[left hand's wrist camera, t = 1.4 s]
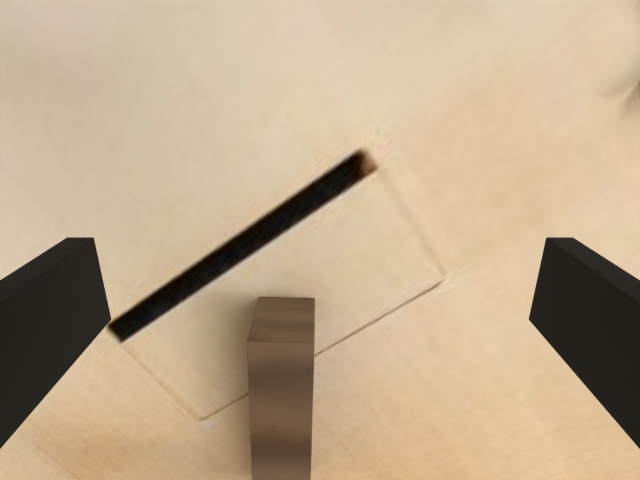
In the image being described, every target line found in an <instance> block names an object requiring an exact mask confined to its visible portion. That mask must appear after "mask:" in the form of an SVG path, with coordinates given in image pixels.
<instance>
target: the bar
mask: <svg viewBox="0 0 640 480" xmlns="http://www.w3.org/2000/svg"><path fill="white" fill-rule="evenodd" d="M314 330H315V299H313V298H268V297H259V299H258V303H257V307H256V310H255V314H254V318H253V321H252V325H251V329H250V333H249V336H248V340H247V357H248V383H249V409H250V434H251V460H252V480H310V478H311V443H312V408H313V374H314Z"/></svg>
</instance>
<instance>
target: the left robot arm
mask: <svg viewBox="0 0 640 480" xmlns="http://www.w3.org/2000/svg"><path fill="white" fill-rule="evenodd" d="M110 320H111V316H110V312H109V307H108V302H107V298H106V293H105V288H104V284H103V279H102V274H101V270H100V265H99V260H98V256H97V251H96V246H95V242H94V238H66V239H64V240H63V241H61V242H60V243H58V244H56V245H55V246H53V247H52V248H50V249H49V250H47V251H45V252H44V253H42V254H41V255H39V256H38V257H36V258H35V259H33V260H31V261H30V262H28V263H27V264H25V265H24V266H22V267H20V268H19V269H17V270H16V271H14V272H13V273H11V274H10V275H8V276H6V277H5V278H3V279H2V280H0V448H1V447H2V446H3V445H4V444H5V443H6V441H7V440H8V439H9V438H10V437H11V436H12V434H13V433H14V432H15V431H16V430H17V429H18V427H19V426H20V425H21V424H22V423H23V422H24V420H25V419H26V418H27V417H28V416H29V415H30V413H31V412H32V411H33V410H34V409H35V408H36V406H37V405H38V404H39V403H40V402H41V401H42V399H43V398H44V397H45V396H46V395H47V394H48V392H49V391H50V390H51V389H52V388H53V387H54V385H55V384H56V383H57V382H58V381H59V380H60V378H61V377H62V376H63V375H64V374H65V373H66V371H67V370H68V369H69V368H70V367H71V366H72V364H73V363H74V362H75V361H76V360H77V359H78V357H79V356H80V355H81V354H82V353H83V352H84V350H85V349H86V348H87V347H88V346H89V345H90V344H91V342H92V341H93V340H94V339H95V338H96V337H97V335H98V334H99V333H100V332H101V331H102V330H103V328H104V327H105V326H106V325H107V324H108V323H109V321H110ZM529 320H530V321H531V323H532V324H533V325H534V326H535V327H536V328H537V330H538V331H539V332H540V333H541V334H542V335H543V337H544V338H545V339H546V340H547V341H548V342H549V344H550V345H551V346H552V347H553V348H554V349H555V351H556V352H557V353H558V354H559V355H560V356H561V357H562V359H563V360H564V361H565V362H566V363H567V364H568V366H569V367H570V368H571V369H572V370H573V371H574V373H575V374H576V375H577V376H578V377H579V378H580V380H581V381H582V382H583V383H584V384H585V385H586V387H587V388H588V389H589V390H590V391H591V392H592V394H593V395H594V396H595V397H596V398H597V399H598V401H599V402H600V403H601V404H602V405H603V406H604V408H605V409H606V410H607V411H608V412H609V413H610V415H611V416H612V417H613V418H614V419H615V420H616V422H617V423H618V424H619V425H620V426H621V427H622V429H623V430H624V431H625V432H626V433H627V434H628V436H629V437H630V438H631V439H632V440H633V441H634V443H635V444H636V445H637V446H638V447H639V448H640V280H638V279H637V278H635V277H634V276H632V275H630V274H629V273H627V272H626V271H624V270H623V269H621V268H620V267H618V266H616V265H615V264H613V263H612V262H610V261H609V260H607V259H605V258H604V257H602V256H601V255H599V254H598V253H596V252H595V251H593V250H591V249H590V248H588V247H587V246H585V245H584V244H582V243H580V242H579V241H577V240H576V239H574V238H546V242H545V246H544V251H543V256H542V260H541V265H540V270H539V274H538V279H537V284H536V288H535V293H534V298H533V302H532V307H531V312H530V316H529Z"/></svg>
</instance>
